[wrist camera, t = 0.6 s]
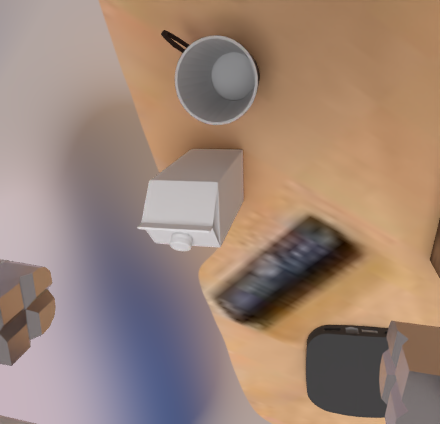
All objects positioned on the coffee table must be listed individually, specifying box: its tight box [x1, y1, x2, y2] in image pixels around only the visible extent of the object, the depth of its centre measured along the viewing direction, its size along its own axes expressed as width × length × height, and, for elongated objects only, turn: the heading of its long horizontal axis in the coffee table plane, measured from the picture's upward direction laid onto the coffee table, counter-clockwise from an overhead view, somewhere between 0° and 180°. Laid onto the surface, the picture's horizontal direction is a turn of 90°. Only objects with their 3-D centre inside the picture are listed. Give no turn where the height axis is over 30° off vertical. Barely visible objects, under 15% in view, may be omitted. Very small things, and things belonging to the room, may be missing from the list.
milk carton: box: [137, 149, 244, 251], centre depth 47 cm, size 7×7×19 cm
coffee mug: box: [161, 30, 260, 125], centre depth 45 cm, size 12×9×10 cm
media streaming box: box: [306, 325, 389, 418], centre depth 60 cm, size 15×15×3 cm
